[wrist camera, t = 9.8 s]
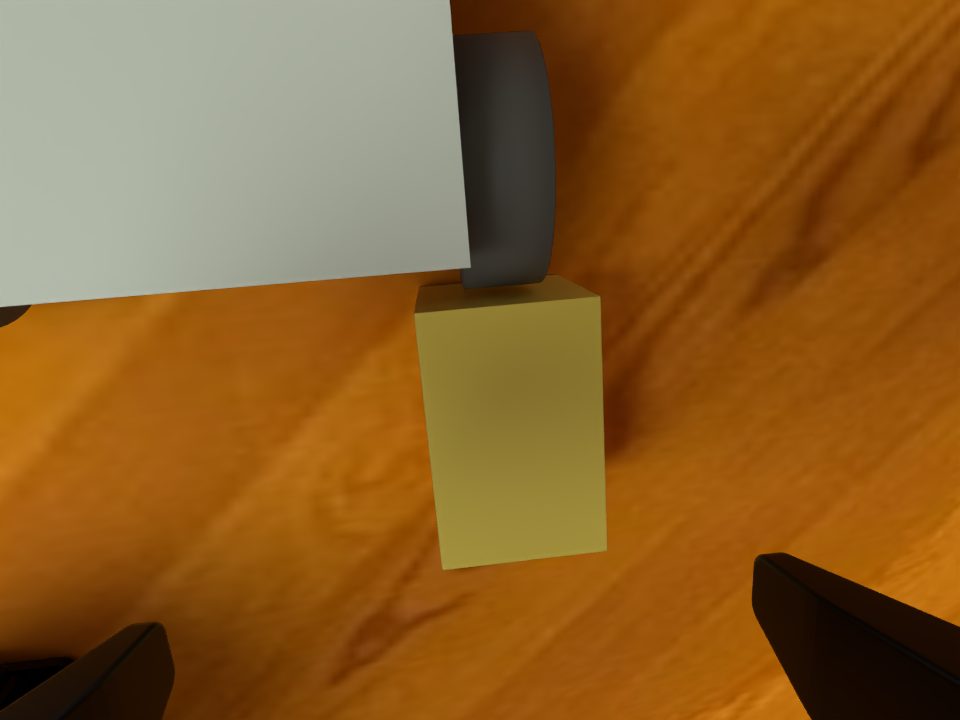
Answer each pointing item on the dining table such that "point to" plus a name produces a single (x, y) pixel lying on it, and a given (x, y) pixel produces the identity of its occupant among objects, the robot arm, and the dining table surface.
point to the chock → (514, 419)
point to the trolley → (265, 147)
